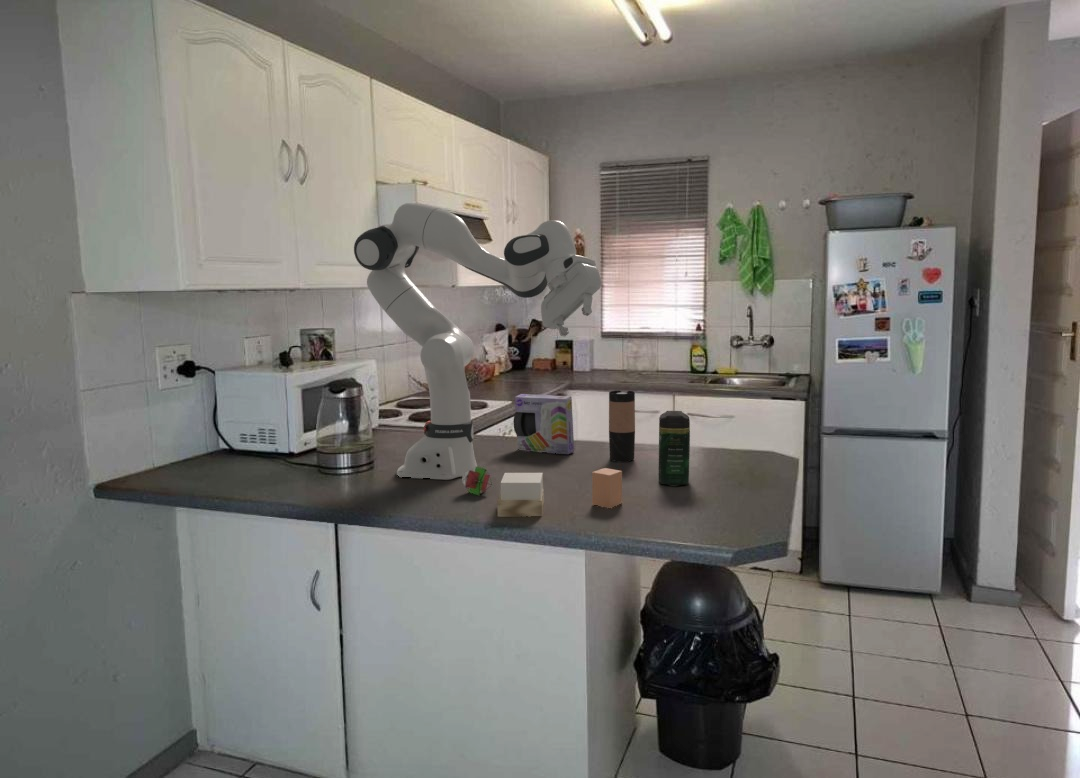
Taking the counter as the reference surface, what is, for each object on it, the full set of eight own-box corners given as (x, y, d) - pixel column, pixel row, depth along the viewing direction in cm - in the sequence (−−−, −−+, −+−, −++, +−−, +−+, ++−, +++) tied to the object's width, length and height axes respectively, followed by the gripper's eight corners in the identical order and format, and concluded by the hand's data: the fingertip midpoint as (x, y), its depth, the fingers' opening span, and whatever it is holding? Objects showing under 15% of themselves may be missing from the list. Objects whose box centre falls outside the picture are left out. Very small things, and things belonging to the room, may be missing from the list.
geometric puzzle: (485, 478, 196) (470, 457, 192) (502, 483, 191) (487, 461, 187) (468, 499, 193) (452, 478, 189) (485, 504, 188) (468, 483, 184)
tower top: (500, 499, 172) (500, 482, 171) (505, 489, 180) (504, 472, 180) (540, 500, 171) (540, 482, 170) (542, 489, 180) (542, 472, 179)
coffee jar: (690, 487, 193) (691, 415, 190) (658, 486, 194) (658, 414, 191) (688, 477, 202) (689, 408, 199) (658, 477, 203) (658, 408, 201)
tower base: (497, 518, 171) (497, 500, 171) (502, 505, 181) (501, 488, 181) (542, 518, 171) (541, 500, 170) (544, 505, 181) (543, 488, 180)
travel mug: (618, 463, 219) (618, 394, 216) (604, 458, 226) (603, 391, 223) (640, 460, 223) (640, 392, 220) (625, 455, 229) (625, 389, 226)
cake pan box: (513, 450, 239) (511, 394, 236) (521, 447, 243) (520, 392, 240) (567, 456, 229) (567, 398, 227) (575, 452, 234) (574, 396, 231)
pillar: (592, 505, 179) (592, 472, 178) (604, 500, 182) (604, 467, 181) (609, 509, 176) (609, 475, 174) (622, 504, 179) (622, 470, 178)
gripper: (531, 298, 193) (541, 344, 187) (578, 250, 179) (590, 299, 173) (551, 302, 197) (561, 348, 190) (599, 256, 182) (611, 304, 176)
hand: (575, 324), depth 181 cm, fingers open, 8 cm apart
